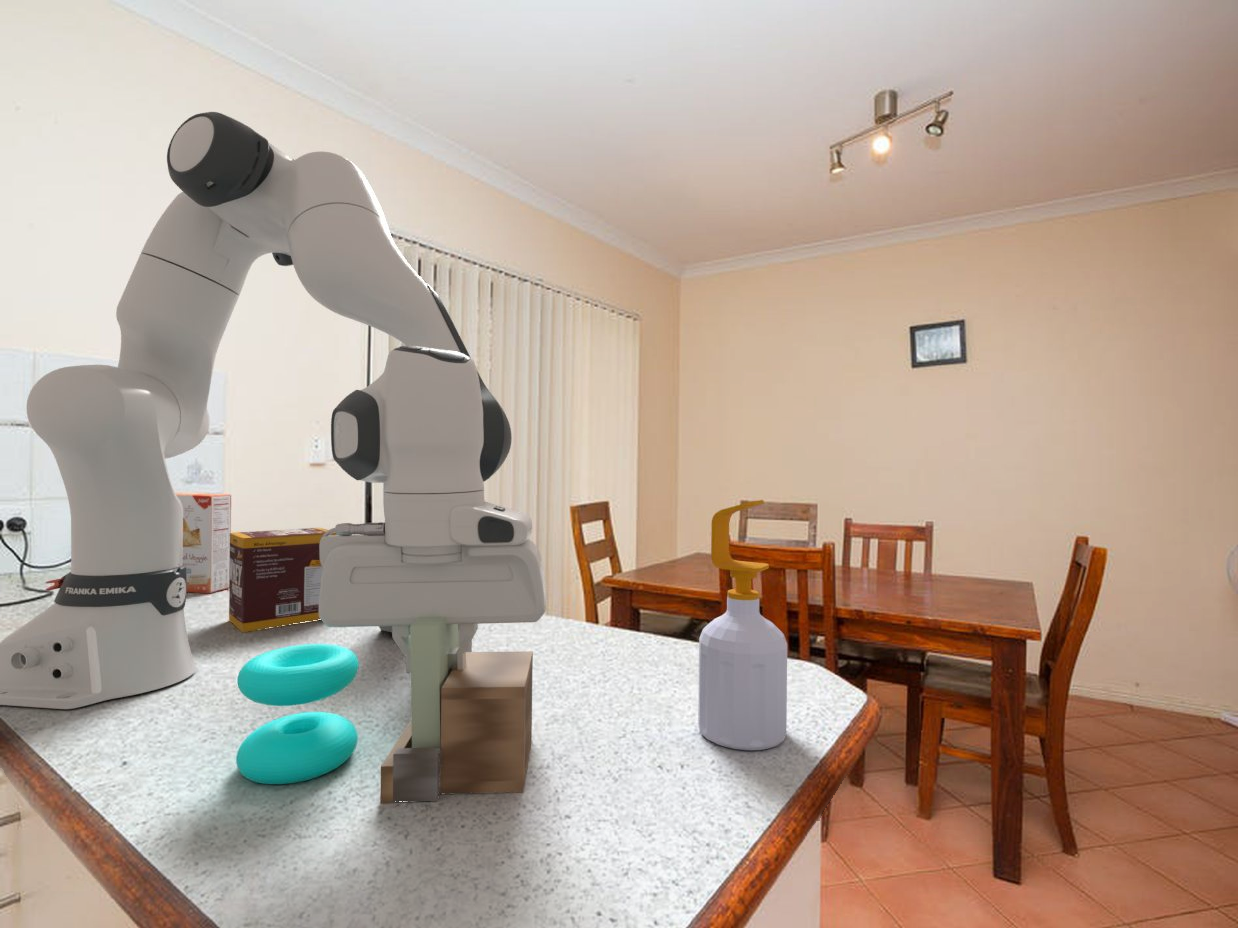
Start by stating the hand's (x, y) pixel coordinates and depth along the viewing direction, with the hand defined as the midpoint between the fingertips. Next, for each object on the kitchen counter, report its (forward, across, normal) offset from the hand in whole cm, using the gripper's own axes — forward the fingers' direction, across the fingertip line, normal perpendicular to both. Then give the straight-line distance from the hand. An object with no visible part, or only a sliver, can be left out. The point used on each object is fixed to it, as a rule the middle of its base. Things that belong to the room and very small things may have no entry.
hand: (437, 670), depth 57 cm
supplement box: (+10, -38, +55) cm, 68 cm away
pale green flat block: (+5, 0, 0) cm, 5 cm away
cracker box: (+10, -69, +81) cm, 107 cm away
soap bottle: (+10, +30, +5) cm, 32 cm away
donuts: (+9, -13, +1) cm, 16 cm away
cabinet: (+9, +2, 0) cm, 9 cm away
